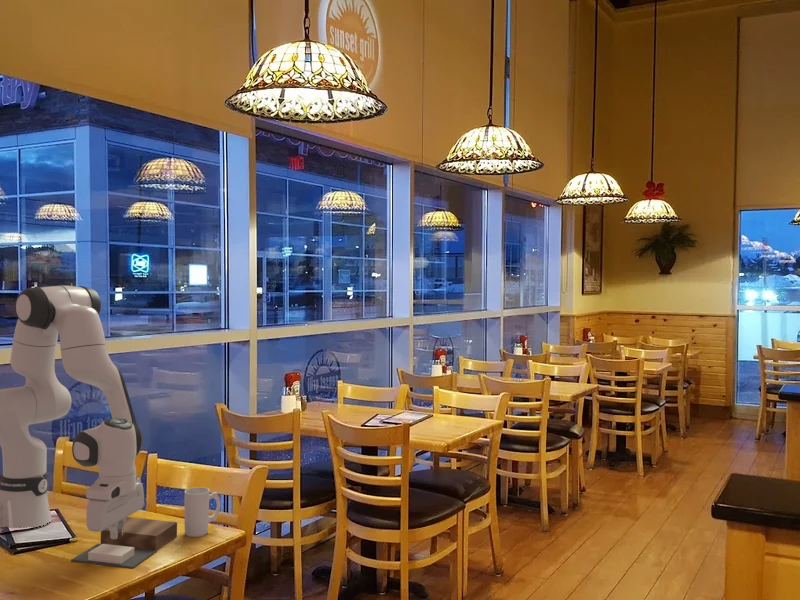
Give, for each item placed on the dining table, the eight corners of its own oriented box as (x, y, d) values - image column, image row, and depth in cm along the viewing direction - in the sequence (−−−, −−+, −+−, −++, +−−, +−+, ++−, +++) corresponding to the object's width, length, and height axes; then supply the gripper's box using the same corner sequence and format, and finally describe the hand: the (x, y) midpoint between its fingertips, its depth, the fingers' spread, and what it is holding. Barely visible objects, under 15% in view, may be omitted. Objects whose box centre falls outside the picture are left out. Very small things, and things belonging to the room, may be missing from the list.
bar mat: (71, 561, 184) (71, 559, 184) (97, 545, 194) (97, 543, 194) (133, 568, 180) (133, 566, 180) (156, 552, 191) (156, 550, 191)
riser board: (100, 544, 195) (100, 529, 195) (124, 530, 206) (124, 516, 205) (155, 551, 192) (156, 535, 191) (176, 536, 202) (177, 522, 202)
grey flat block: (102, 543, 189) (102, 551, 189) (88, 552, 183) (88, 560, 183) (134, 547, 187) (134, 555, 188) (121, 556, 182) (120, 564, 182)
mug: (186, 538, 201) (187, 495, 200) (181, 531, 207) (181, 488, 206) (223, 533, 206) (224, 490, 205) (216, 525, 212) (217, 484, 211)
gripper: (129, 471, 198) (128, 522, 199) (81, 493, 178) (80, 550, 179) (150, 473, 197) (149, 525, 197) (105, 495, 177) (104, 552, 177)
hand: (116, 537), depth 188 cm, fingers closed
